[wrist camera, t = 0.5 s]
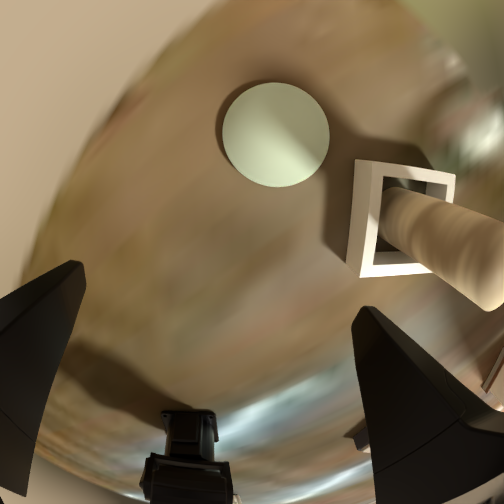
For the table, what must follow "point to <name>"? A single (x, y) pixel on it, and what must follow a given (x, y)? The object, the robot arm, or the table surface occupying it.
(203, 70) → the table surface
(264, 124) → the coaster
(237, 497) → the white rounded lump
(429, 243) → the peg
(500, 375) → the tall white pillar
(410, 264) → the pocket
